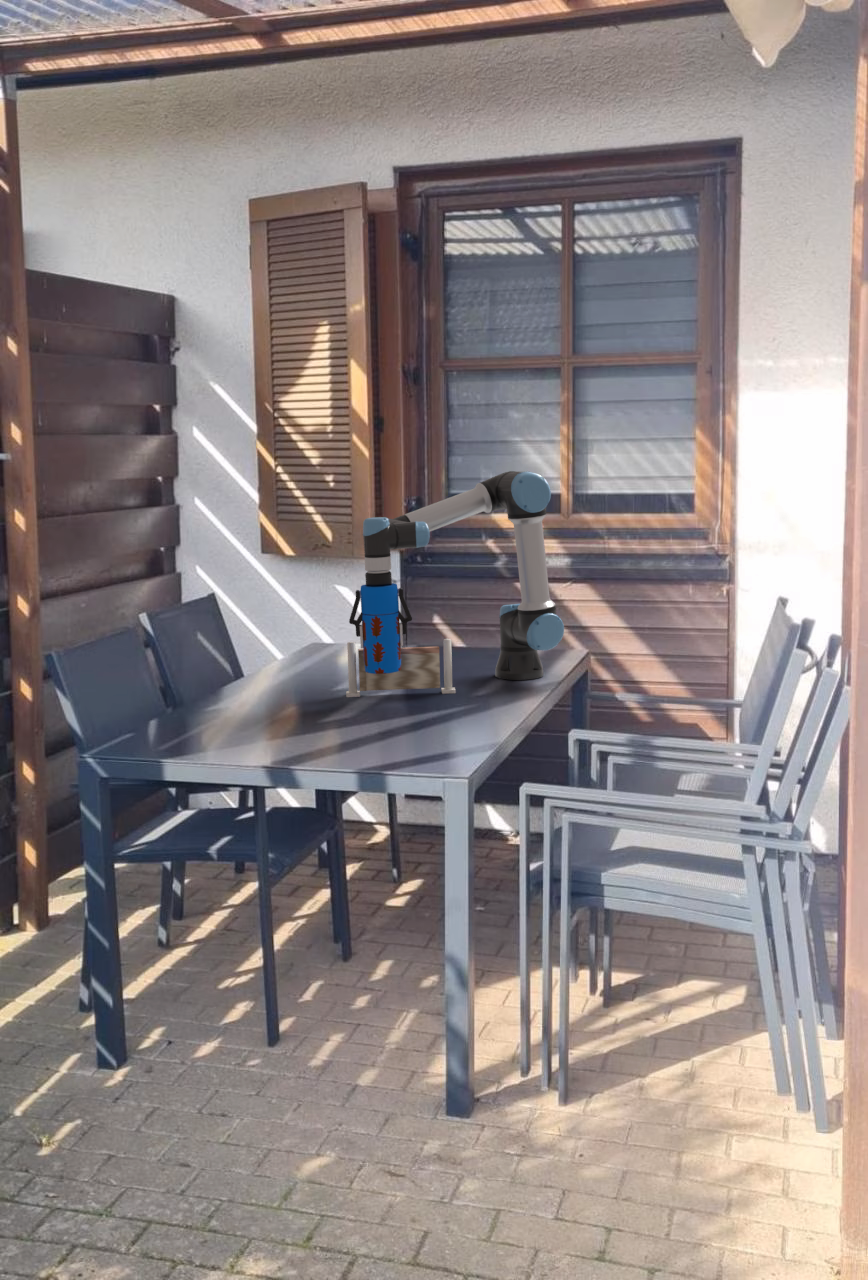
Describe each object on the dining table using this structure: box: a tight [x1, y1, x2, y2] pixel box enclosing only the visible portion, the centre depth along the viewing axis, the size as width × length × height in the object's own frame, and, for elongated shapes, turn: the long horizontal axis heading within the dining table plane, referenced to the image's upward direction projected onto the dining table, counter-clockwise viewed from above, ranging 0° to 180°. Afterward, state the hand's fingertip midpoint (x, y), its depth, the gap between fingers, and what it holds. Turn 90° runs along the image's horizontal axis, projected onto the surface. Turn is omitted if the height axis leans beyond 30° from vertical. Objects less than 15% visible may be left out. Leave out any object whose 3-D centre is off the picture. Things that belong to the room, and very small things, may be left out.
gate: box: [357, 645, 441, 692], centre depth 411 cm, size 24×2×12 cm, turn 93°
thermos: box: [360, 582, 402, 674], centre depth 401 cm, size 11×11×25 cm
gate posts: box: [345, 638, 457, 698], centre depth 411 cm, size 32×4×16 cm, turn 93°
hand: (381, 646), depth 402 cm, fingers closed on thermos, 11 cm apart
